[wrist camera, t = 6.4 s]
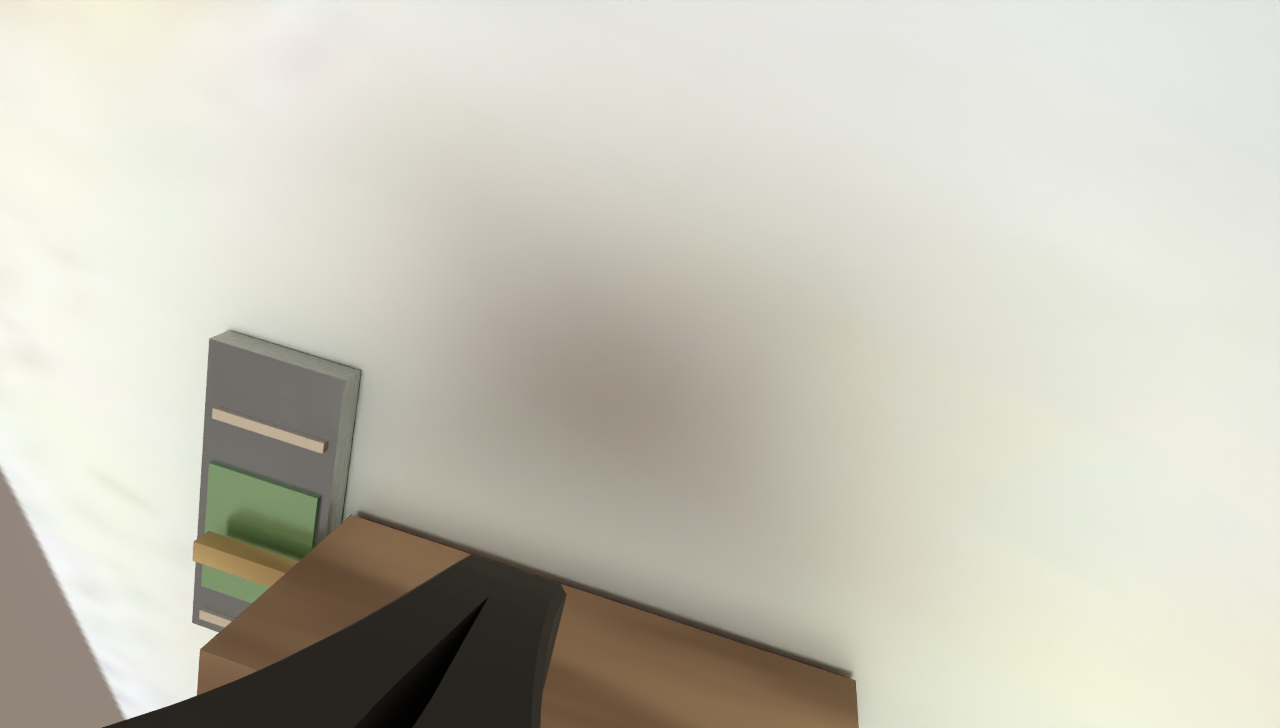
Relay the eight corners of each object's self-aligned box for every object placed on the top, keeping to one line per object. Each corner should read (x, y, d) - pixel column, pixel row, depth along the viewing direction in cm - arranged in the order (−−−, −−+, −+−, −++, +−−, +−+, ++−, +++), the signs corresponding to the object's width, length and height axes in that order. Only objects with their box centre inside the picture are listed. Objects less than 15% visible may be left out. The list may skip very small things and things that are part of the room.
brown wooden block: (819, 769, 22) (820, 994, 17) (228, 567, 24) (52, 707, 19) (855, 680, 21) (868, 888, 16) (235, 476, 23) (51, 596, 18)
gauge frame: (807, 889, 24) (805, 1081, 19) (206, 672, 26) (73, 797, 22) (950, 551, 20) (989, 688, 15) (230, 330, 22) (73, 391, 18)
